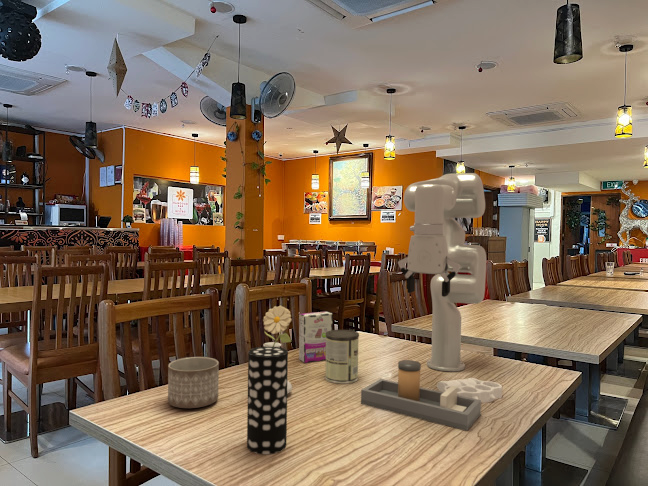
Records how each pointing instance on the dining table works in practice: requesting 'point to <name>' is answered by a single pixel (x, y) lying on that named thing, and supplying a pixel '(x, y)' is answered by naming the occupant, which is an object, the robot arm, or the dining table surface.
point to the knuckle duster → (474, 388)
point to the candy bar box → (313, 335)
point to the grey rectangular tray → (421, 404)
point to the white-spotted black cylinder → (267, 399)
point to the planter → (193, 382)
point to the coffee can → (341, 356)
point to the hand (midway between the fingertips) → (427, 293)
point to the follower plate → (451, 400)
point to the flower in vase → (278, 328)
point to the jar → (409, 379)
